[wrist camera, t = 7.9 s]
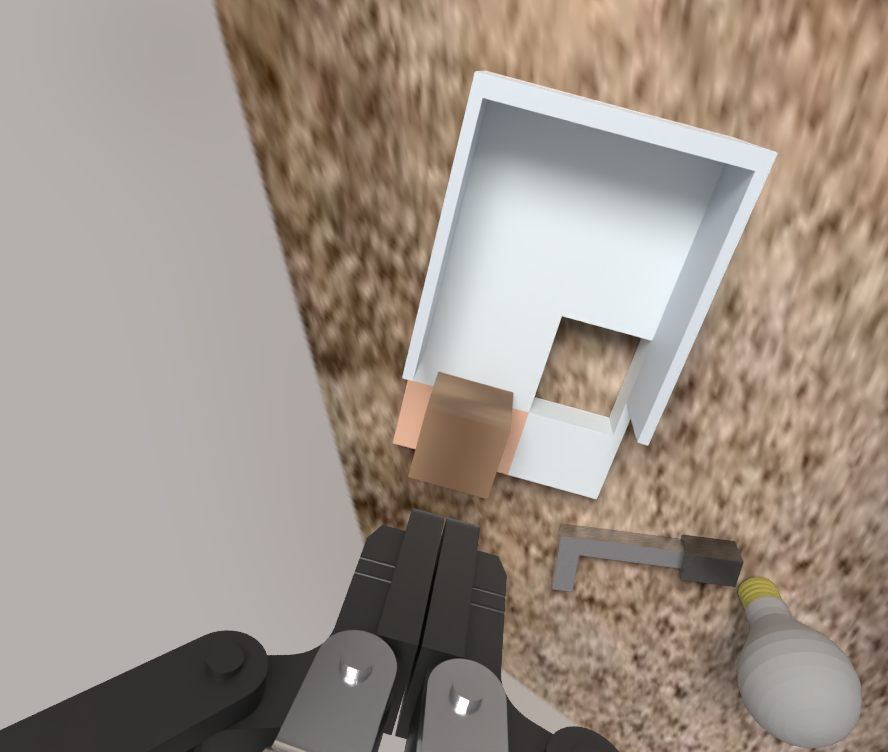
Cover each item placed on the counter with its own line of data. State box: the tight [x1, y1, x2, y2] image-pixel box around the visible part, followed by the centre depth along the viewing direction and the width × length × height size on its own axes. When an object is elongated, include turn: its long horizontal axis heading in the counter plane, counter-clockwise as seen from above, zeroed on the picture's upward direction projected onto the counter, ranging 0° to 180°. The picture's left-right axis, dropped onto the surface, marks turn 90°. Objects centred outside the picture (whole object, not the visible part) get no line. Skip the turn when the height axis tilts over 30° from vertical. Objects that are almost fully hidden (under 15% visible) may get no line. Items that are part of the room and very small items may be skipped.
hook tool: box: [552, 524, 743, 592], centre depth 39 cm, size 10×4×2 cm, turn 87°
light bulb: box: [737, 577, 862, 748], centre depth 35 cm, size 5×6×10 cm
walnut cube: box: [408, 372, 513, 499], centre depth 33 cm, size 4×4×4 cm
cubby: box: [393, 71, 778, 499], centre depth 31 cm, size 12×19×6 cm, turn 167°
